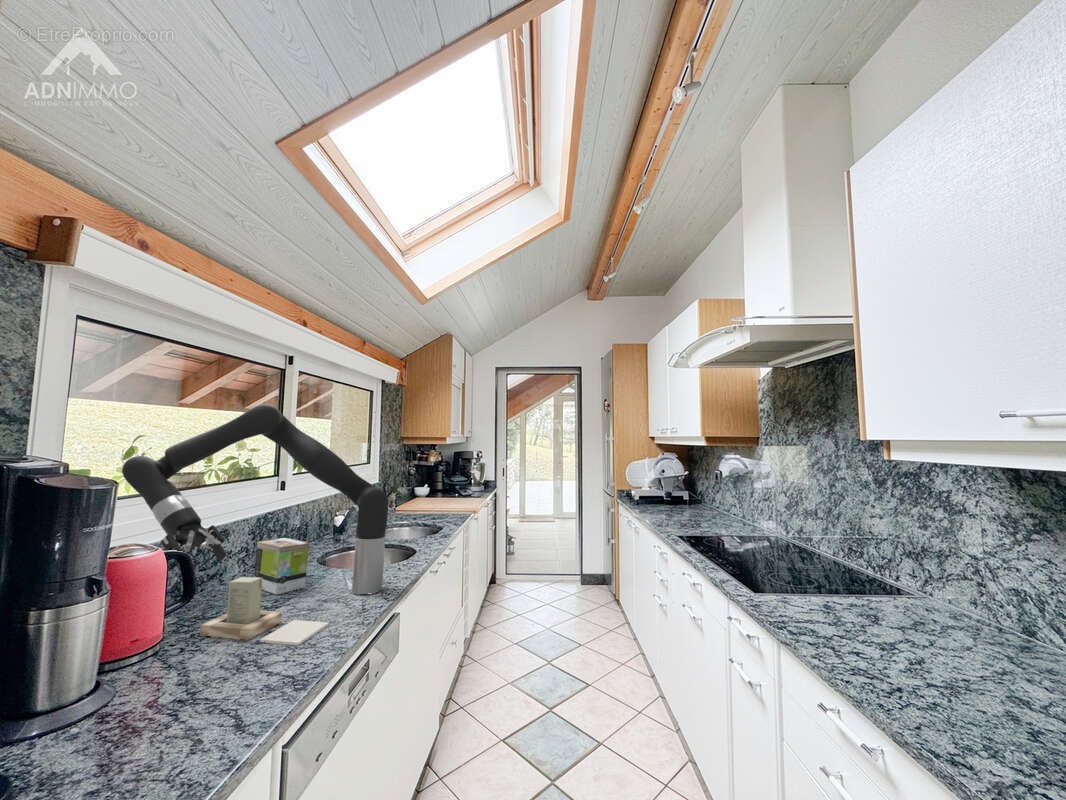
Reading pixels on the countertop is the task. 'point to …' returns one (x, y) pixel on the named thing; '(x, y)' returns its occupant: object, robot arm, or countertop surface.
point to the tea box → (281, 564)
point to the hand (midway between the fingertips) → (209, 562)
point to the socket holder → (240, 626)
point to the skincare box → (244, 600)
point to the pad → (294, 632)
